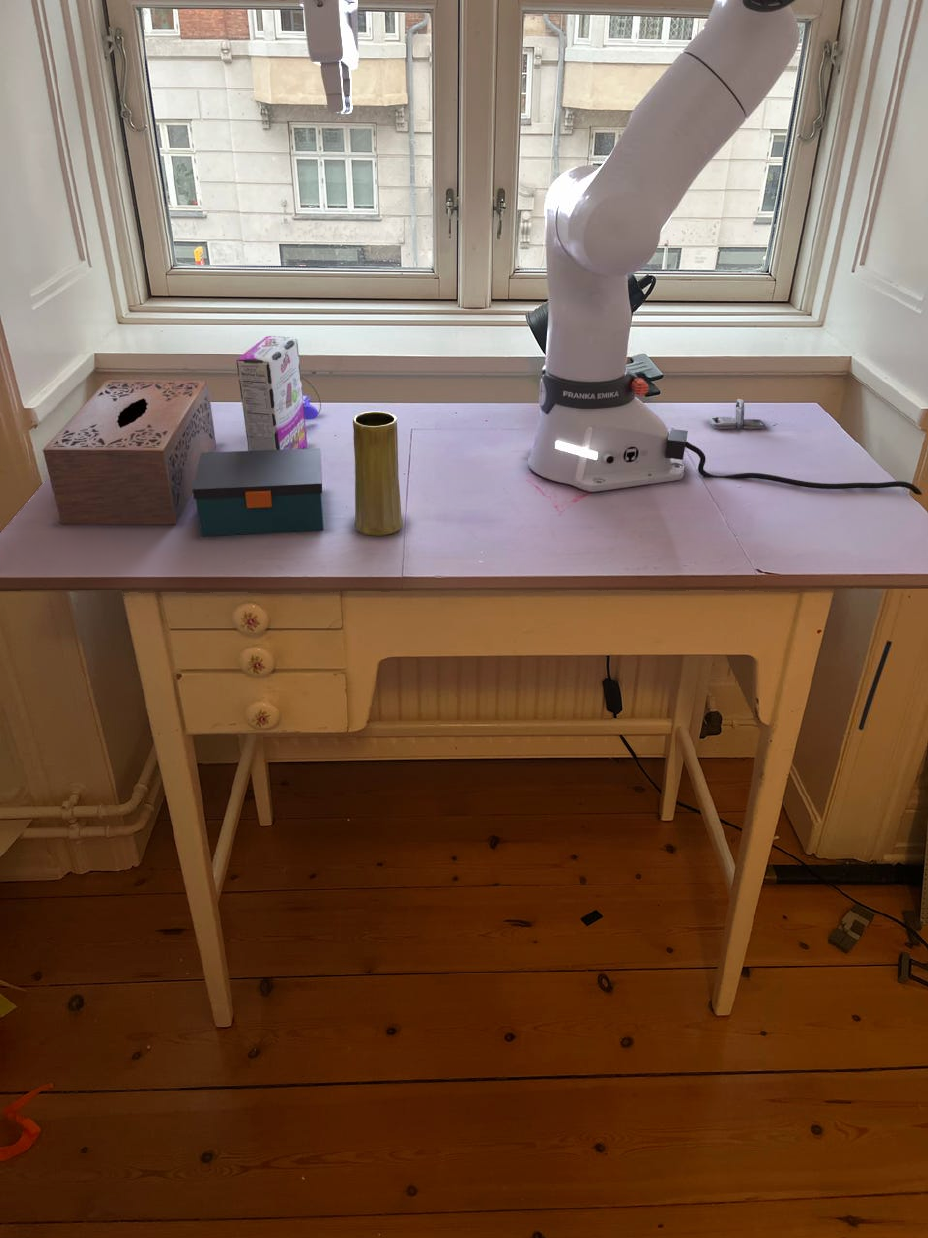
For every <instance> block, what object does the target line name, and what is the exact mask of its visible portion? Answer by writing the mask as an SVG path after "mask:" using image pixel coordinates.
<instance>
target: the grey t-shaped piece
mask: <svg viewBox="0 0 928 1238" xmlns="http://www.w3.org/2000/svg"><path fill="white" fill-rule="evenodd" d="M734 413H735V415H734V417H735V418H734V417H731V416H715V417H711V418H710V419H709V424H710V425H711V426H712V427H713V428H715V429H720V430H733V429H736V428H737V427H738V426H739V427H741V428H743V429H746V430H747V429H750V430H751V429H752V430H753V429H754V430H755V429H756V430H757V429H763V428H765V427H766V424H765V423H764V422H763V421H762V420H761V419H754V418H753V419H751V418H750V419H745V400H744V399H742V398H737V399H736V402H735V411H734Z"/></svg>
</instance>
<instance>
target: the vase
mask: <svg viewBox="0 0 928 1238" xmlns="http://www.w3.org/2000/svg"><path fill="white" fill-rule="evenodd" d="M352 428H353V429H352V430H353V453H354V454H353V455H354V508H355V509H354V528H355V529H356V530H357V532H359V533H360V534H364V535H366V536H371V537H383V536H389V535H392V534H395V533H397V532H399V531H400V530H401V529H402V527H403V524H404V523H403V518H402V504H401V491H400V477H399V444H398V419H397V417H396V415H394V414H393V413H390V412H385V411H376V410H375V411H367V412H361V413H358V414H356V415H355V416H353V419H352Z"/></svg>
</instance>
